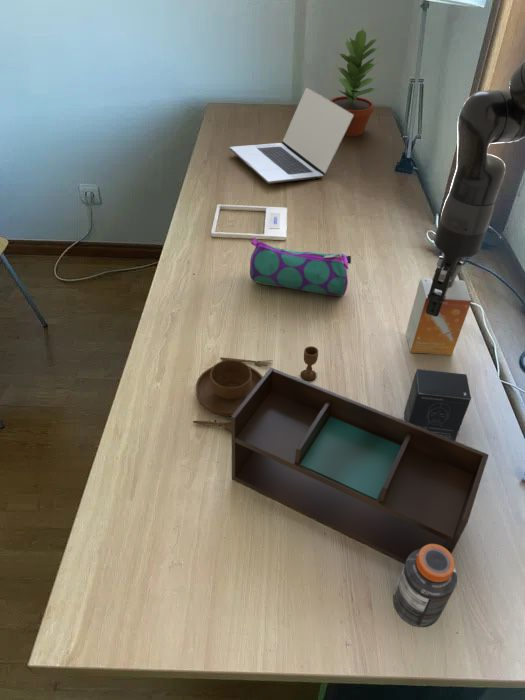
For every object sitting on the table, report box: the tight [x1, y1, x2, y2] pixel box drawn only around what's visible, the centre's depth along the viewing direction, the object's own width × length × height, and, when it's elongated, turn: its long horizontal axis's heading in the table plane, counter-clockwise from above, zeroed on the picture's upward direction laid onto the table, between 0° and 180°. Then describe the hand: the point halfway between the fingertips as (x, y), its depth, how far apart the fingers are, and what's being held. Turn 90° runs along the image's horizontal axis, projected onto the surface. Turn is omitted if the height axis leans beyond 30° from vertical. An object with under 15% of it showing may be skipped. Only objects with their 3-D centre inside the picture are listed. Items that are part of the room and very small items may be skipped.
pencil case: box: [249, 237, 352, 297], centre depth 118 cm, size 21×9×10 cm, turn 78°
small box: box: [405, 277, 472, 356], centre depth 104 cm, size 8×6×13 cm
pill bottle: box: [392, 544, 458, 628], centre depth 67 cm, size 6×6×11 cm
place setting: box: [192, 345, 319, 431], centre depth 94 cm, size 18×20×6 cm
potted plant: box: [329, 28, 379, 137], centre depth 179 cm, size 15×15×30 cm
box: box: [403, 368, 472, 441], centre depth 88 cm, size 8×6×11 cm
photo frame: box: [210, 203, 288, 241], centre depth 140 cm, size 15×1×18 cm
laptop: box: [229, 86, 354, 185], centre depth 161 cm, size 26×24×18 cm
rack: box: [230, 367, 489, 565], centre depth 77 cm, size 31×11×14 cm, turn 61°
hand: (438, 301), depth 101 cm, fingers open, 8 cm apart
